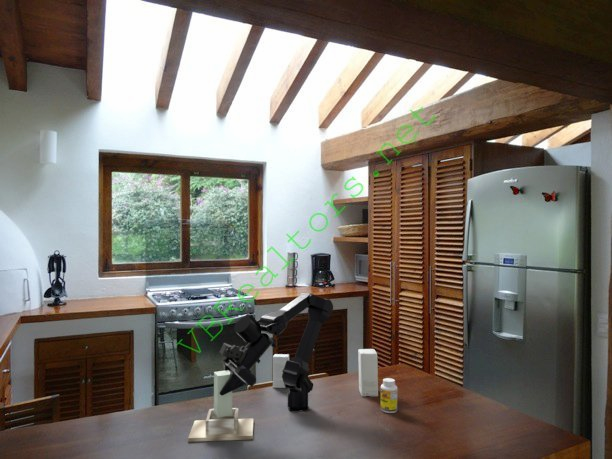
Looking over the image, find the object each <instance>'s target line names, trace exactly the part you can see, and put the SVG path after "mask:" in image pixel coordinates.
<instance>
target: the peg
mask: <svg viewBox="0 0 612 459" xmlns="http://www.w3.org/2000/svg"><path fill="white" fill-rule="evenodd" d="M229 378H230V371H229V370H225V371H224V370H219V371H214V372H213V409H214V413H215V415H216V416H217V418H219V417H224V416H230V415H232V408H233V391H231V392H229V393H227V394H225V395H223V396H222V395H220V391H221V390H222V388H223V387H224V385H225V384H226V382H227V381H228V379H229Z"/></svg>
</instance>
